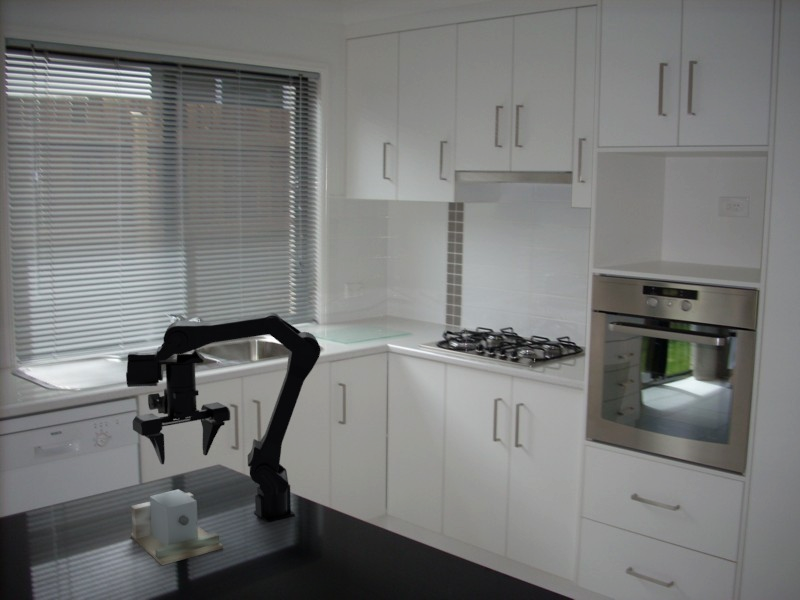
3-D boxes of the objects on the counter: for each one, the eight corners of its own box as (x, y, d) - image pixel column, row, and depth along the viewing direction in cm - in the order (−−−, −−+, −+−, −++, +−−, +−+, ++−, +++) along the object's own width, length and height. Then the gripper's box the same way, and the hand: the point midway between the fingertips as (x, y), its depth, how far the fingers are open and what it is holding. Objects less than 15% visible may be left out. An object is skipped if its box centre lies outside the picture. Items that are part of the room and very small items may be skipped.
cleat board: (188, 521, 175) (187, 490, 174) (222, 548, 163) (221, 515, 162) (130, 536, 168) (129, 504, 167) (162, 565, 155) (160, 530, 154)
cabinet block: (180, 527, 171) (178, 489, 170) (200, 542, 164) (199, 502, 163) (151, 535, 167) (149, 496, 166) (171, 550, 160) (169, 509, 159)
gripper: (207, 371, 184) (209, 441, 186) (121, 383, 173) (124, 458, 175) (230, 380, 175) (232, 454, 177) (141, 394, 164) (144, 472, 166)
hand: (184, 459), depth 174 cm, fingers open, 9 cm apart
